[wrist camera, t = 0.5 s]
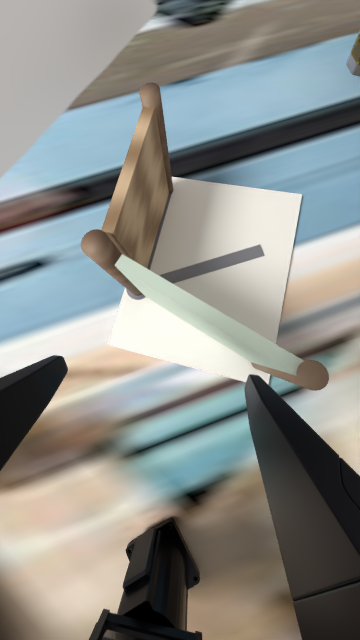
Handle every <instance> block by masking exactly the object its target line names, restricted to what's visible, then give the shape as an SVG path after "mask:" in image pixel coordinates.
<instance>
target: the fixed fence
mask: <svg viewBox="0 0 360 640" xmlns="http://www.w3.org/2000/svg"><path fill="white" fill-rule="evenodd" d="M140 98H141V102H142V107H143V108H142V111H141V114H140V117H139V120H138V123H137V126H136V129H135V132H134V135H133V138H132V141H131V144H130V147H129V150H128V153H127V156H126V159H125V162H124V165H123V168H122V171H121V174H120V176H119V179H118V182H117V185H116V188H115V191H114V194H113V197H112V200H111V203H110V206H109V209H108V212H107V215H106V218H105V221H104V224H103V227H102V230H92V231H89V232H88V233H86V234H85V235H84V237H83V238H82V241H81V248H82V251H83V252H84V253H85V254H86V255H87V256H88V257H90V258H91V259H92V260H93V261H94V262H96V263H97V264H98V265H99V266H100V267H101V268H103V269H104V270H105V271H106V272H107V273H109V274H110V275H111V276H112V277H113V278H115V279H116V280H117V281H118V282H119V283H121V284H122V285H123V286H124V287H125V288H126V289H128V290H129V291H130V292H131V293H132V294H134V295H136V296H139V295H142V293H141V292H140V291H139V290H138V289H137V288H136V287H135V286H134V285H133V284H132V283H131V282H130V281H129V280H128V279H127V278H126V277H125V276H124V275H123V274H122V272H121V271H120V270H119V269H118V268H117V267H116V266H115V264H116V262H117V261H118V260H119V258H120V257H121V255H122V254H123V255H125V256H126V257H128V258H130V259H131V260H133V261H135V262H137V263H138V264H140V265H142V266H143V267H145V268H147V267H148V264H149V260H150V257H151V253H152V250H153V246H154V243H155V240H156V236H157V233H158V229H159V226H160V222H161V219H162V215H163V212H164V209H165V205H166V202H167V198H168V195H170V194H171V193H173V183H172V176H171V168H170V161H169V153H168V146H167V139H166V131H165V124H164V116H163V109H162V102H161V94H160V88H159V86H158V85H157V84H155V83H147V84H145V85H144V86H142V87H141V89H140Z"/></svg>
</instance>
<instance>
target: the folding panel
mask: <svg viewBox="0 0 360 640" xmlns="http://www.w3.org/2000/svg"><path fill="white" fill-rule="evenodd" d="M115 266H116V267H117V268H118V269H119V270H120V271H121V272H122V274H123V275H124V276H125V277H126V278H127V279H128V280H129V281H130V282H131V283H132V284H133V285H134V286H135V287H136V288H137V289H138V290H139V291H140V292H141V293H142V294H143V295H144V296H145V297H147V298H148V299H150V300H152V301H153V302H155V303H156V304H158V305H160V306H161V307H163V308H164V309H166V310H168V311H169V312H171V313H173V314H174V315H176V316H177V317H179V318H181V319H182V320H184V321H185V322H187V323H189V324H190V325H192V326H194V327H195V328H197V329H198V330H200V331H202V332H203V333H205V334H206V335H208V336H210V337H211V338H213V339H215V340H216V341H218V342H219V343H221V344H223V345H224V346H226V347H227V348H229V349H231V350H232V351H234V352H236V353H237V354H239V355H240V356H242V357H244V358H245V359H247V360H248V361H250V362H251V364H252V366H253V367H254V368H255V369H257V370H260V371H263V372H265V373H268V374H271V375H273V376H276V377H278V378H281V379H284V380H286V381H289V382H292V383H294V384H297V385H300V386H302V387H305V388H307V389H310V390H320V389H322V388H324V387H325V386H326V385H327V383H328V380H329V375H328V371H327V369H326V368H325V367H324V366H323V365H322V364H321V363H319V362H317V361H312V360H304V359H300V358H298V357H297V356H295V355H293V354H292V353H290V352H288V351H286V350H285V349H283V348H281V347H280V346H278V345H276V344H275V343H273V342H271V341H269V340H268V339H266V338H264V337H263V336H261V335H259V334H257V333H256V332H254V331H252V330H251V329H249V328H247V327H246V326H244V325H242V324H240V323H239V322H237V321H235V320H234V319H232V318H230V317H229V316H227V315H225V314H223V313H222V312H220V311H218V310H217V309H215V308H213V307H212V306H210V305H208V304H206V303H205V302H203V301H201V300H200V299H198V298H196V297H194V296H193V295H191V294H189V293H188V292H186V291H184V290H183V289H181V288H179V287H177V286H176V285H174V284H172V283H171V282H169V281H167V280H166V279H164V278H162V277H160V276H159V275H157V274H155V273H154V272H152V271H150V270H148V269H147V268H145V267H143V266H142V265H140V264H138V263H137V262H135V261H133V260H131V259H130V258H128V257H126V256H125V255H123V254H122V255H121V257H120V258H119V260H118V261H117V262H116V264H115Z"/></svg>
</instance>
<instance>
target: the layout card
mask: <svg viewBox="0 0 360 640" xmlns="http://www.w3.org/2000/svg"><path fill="white" fill-rule="evenodd" d="M172 183H173V193H171V194H170V195H168V198H167V202H166V205H165V209H164V212H163V215H162V219H161V222H160V226H159V229H158V233H157V236H156V240H155V243H154V246H153V250H152V253H151V257H150V260H149V264H148V267H147V269H148V270H150V271H152V272H154V273H155V274H157V275H159V276H160V277H162V278H164V279H166V280H167V281H169V282H171V283H172V284H174V285H176V286H177V287H179V288H181V289H183V290H184V291H186V292H188V293H189V294H191V295H193V296H194V297H196V298H198V299H200V300H201V301H203V302H205V303H206V304H208V305H210V306H212V307H213V308H215V309H217V310H218V311H220V312H222V313H223V314H225V315H227V316H229V317H230V318H232V319H234V320H235V321H237V322H239V323H240V324H242V325H244V326H246V327H247V328H249V329H251V330H252V331H254V332H256V333H257V334H259V335H261V336H263V337H264V338H266V339H268V340H269V341H271V342H273V343H275V344H276V340H277V334H278V328H279V323H280V317H281V311H282V306H283V300H284V294H285V289H286V283H287V277H288V272H289V266H290V260H291V255H292V249H293V243H294V238H295V232H296V227H297V221H298V215H299V210H300V204H301V198H302V194H294V193H287V192H280V191H272V190H265V189H258V188H250V187H243V186H236V185H228V184H221V183H213V182H206V181H199V180H191V179H184V178H177V177H172ZM108 345H110V346H114V347H118V348H121V349H125V350H129V351H132V352H136V353H140V354H143V355H147V356H151V357H155V358H158V359H162V360H166V361H169V362H173V363H177V364H181V365H184V366H188V367H192V368H195V369H199V370H203V371H207V372H210V373H214V374H218V375H221V376H225V377H229V378H232V379H236V380H240V381H244V382H246V381H247V378H248V375H249V374H254V375H259V376H260V377H261V378H262V379H263V380H264V381H265V382H266V383H267V384H268V385H269V379H270V374H268V373H265V372H263V371H260V370H257V369H255V368H254V367H253V366H252V364H251V362H250V361H248V360H247V359H245V358H244V357H242V356H240V355H239V354H237V353H236V352H234V351H232V350H231V349H229V348H227V347H226V346H224V345H223V344H221V343H219V342H218V341H216V340H215V339H213V338H211V337H210V336H208V335H206V334H205V333H203V332H202V331H200V330H198V329H197V328H195V327H194V326H192V325H190V324H189V323H187V322H185V321H184V320H182V319H181V318H179V317H177V316H176V315H174V314H173V313H171V312H169V311H168V310H166V309H164V308H163V307H161V306H160V305H158V304H156V303H155V302H153V301H152V300H150V299H148V298H147V297H145V296H144V295H143V294H142V295H139V296H136V295H134V294H132V293H131V292H130V291H129V290H128V289H126V288H125V289H124V293H123V296H122V299H121V303H120V306H119V309H118V312H117V316H116V319H115V322H114V326H113V329H112V332H111V335H110V339H109V342H108Z"/></svg>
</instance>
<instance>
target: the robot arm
mask: <svg viewBox="0 0 360 640" xmlns="http://www.w3.org/2000/svg"><path fill="white" fill-rule="evenodd" d="M67 371H68V367H67V365H66V362H65V360H64V358H63V357H62V356H57V355H54V356H51V357H48V358H46V359H44V360H41V361H39V362H37V363H34V364H32V365H30V366H27V367H25V368H23V369H20V370H18V371H16V372H13V373H11V374H9V375H6V376H4V377H2V378H0V471H1V470H2V468H3V467H4V465H5V464H6V463H7V461H8V460H9V458H10V457H11V456H12V454H13V453H14V451H15V450H16V449H17V447H18V446H19V444H20V443H21V442H22V440H23V439H24V437H25V436H26V435H27V433H28V432H29V430H30V429H31V428H32V426H33V425H34V423H35V422H36V421H37V419H38V418H39V416H40V415H41V414H42V412H43V411H44V409H45V408H46V407H47V405H48V404H49V402H50V401H51V399H52V397H53V396H54V394H55V392H56V391H57V389H58V387H59V386H60V384H61V382H62V381H63V379H64V377H65V375H66V374H67ZM245 397H246V404H247V411H248V419H249V425H250V430H251V435H252V439H253V443H254V447H255V451H256V455H257V459H258V463H259V467H260V471H261V475H262V479H263V483H264V487H265V491H266V495H267V499H268V503H269V507H270V511H271V515H272V519H273V523H274V527H275V531H276V535H277V539H278V543H279V547H280V551H281V555H282V559H283V563H284V567H285V571H286V575H287V580H288V584H289V588H290V592H291V596H292V599H293V604H294V608H295V612H296V616H297V620H298V624H299V628H300V633H301V637H302V640H360V476H359V475H358V474H357V473H356V472H355V471H354V470H353V469H352V468H351V467H350V466H349V465H348V464H347V463H346V462H345V461H344V460H343V459H342V458H339V455H338V454H337V453H336V452H335V451H334V450H333V449H332V448H331V447H330V446H329V445H328V444H327V443H326V442H325V441H324V440H323V439H322V438H321V437H320V436H319V435H318V434H317V433H316V432H315V431H314V430H313V429H312V428H311V427H310V426H309V425H308V424H307V423H306V422H305V421H304V420H303V419H302V418H301V417H300V416H299V415H298V414H297V413H296V412H295V411H294V410H293V409H292V408H291V407H290V406H289V405H288V404H287V403H286V402H285V401H284V400H283V399H282V398H281V397H280V396H279V395H278V394H277V393H276V392H275V391H274V390H273V389H272V388H271V387H270V386H269V385H268V384H267V383H266V382H265V381H264V380H263V379H262V378H261V377H260V376H259V375H254V374H249V375H248V378H247V381H246V385H245ZM169 524H172V526H171V525H169ZM130 549H131V550H130ZM126 554H127V556H128V559H129V561H130V562H129V566H128V569H127V572H126V576H125V579H124V583H123V589H124V592H123V595H122V599H121V602H120V606H119V609H118V613H117V614H115V613H111V612H110V610H107V609H103V611H102V614H101V616H100V618H99V620H98V622H97V623H96V625H95V627H94V629H93V632H92V634H91V636H90V638H89V640H202V632H198V631H195V633H193V632H189V631H187V601H188V589H190V588H191V587H193V586H195V585H196V584H198V583H199V581H200V573H199V571H198V568H197V566H196V564H195V562H194V560H193V558H192V556H191V554H190V552H189V550H188V548H187V546H186V544H185V542H184V539H183V537H182V535H181V533H180V531H179V529H178V527H177V525H176V523H175V521H174V519H172V518H169V519H168V520H166V521H164V522H163V523H161V524H159V525H158V526H156V527H153V528H152V529H150V530H148V531H147V532H145V533H143V534H142V535H140V536H139V537H137V538H136V539H135V540H133V541H132V542H130V543H129V544H128V546H127V548H126ZM195 576H196V577H195Z"/></svg>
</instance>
